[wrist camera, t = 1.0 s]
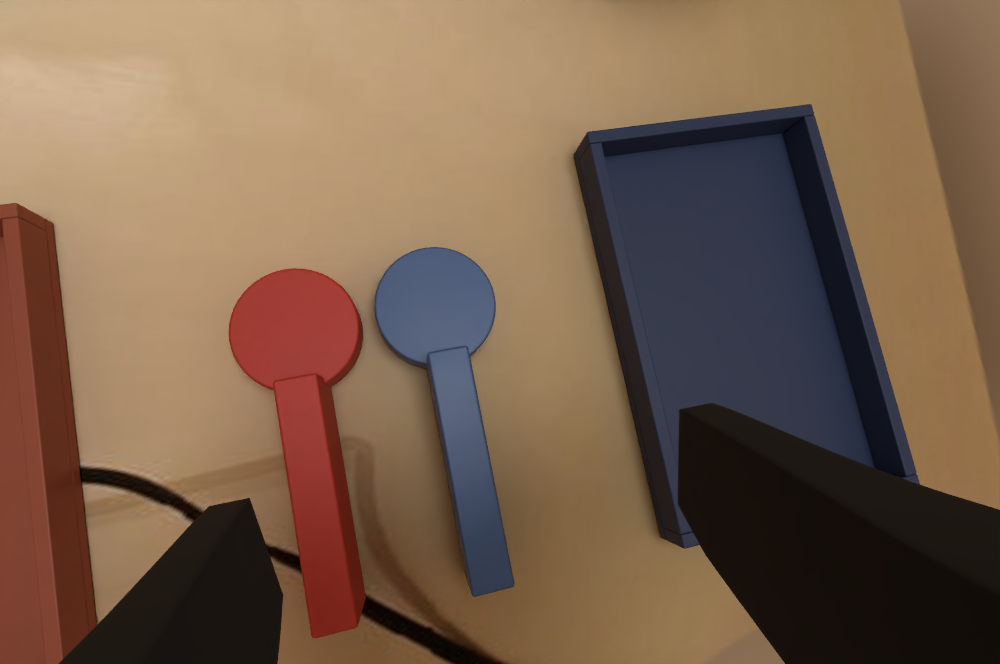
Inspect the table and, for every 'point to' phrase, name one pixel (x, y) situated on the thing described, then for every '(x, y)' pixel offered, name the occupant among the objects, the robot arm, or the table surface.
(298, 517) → the red spoon
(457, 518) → the blue spoon
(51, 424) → the red tray
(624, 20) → the table surface
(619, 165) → the blue tray
